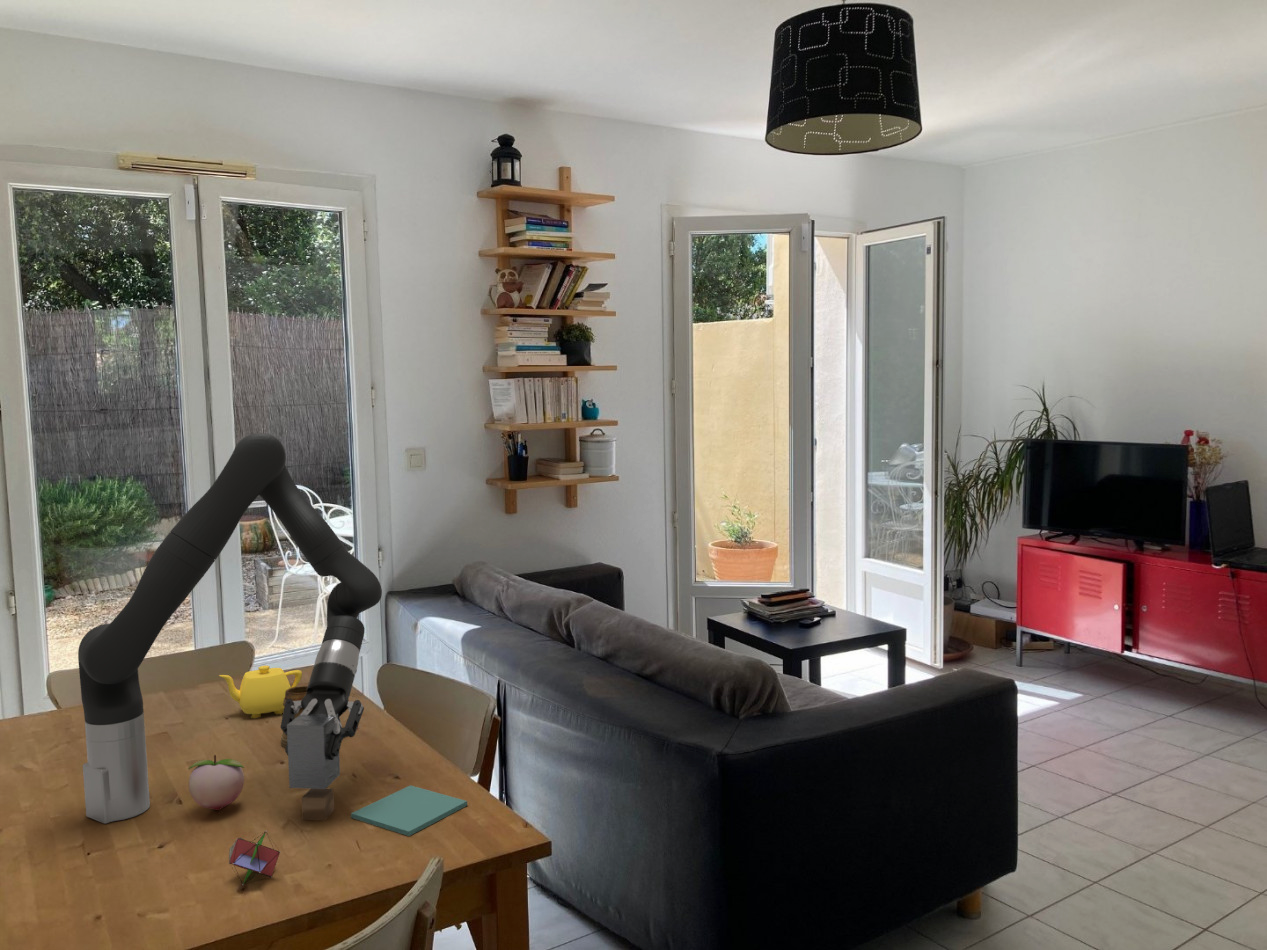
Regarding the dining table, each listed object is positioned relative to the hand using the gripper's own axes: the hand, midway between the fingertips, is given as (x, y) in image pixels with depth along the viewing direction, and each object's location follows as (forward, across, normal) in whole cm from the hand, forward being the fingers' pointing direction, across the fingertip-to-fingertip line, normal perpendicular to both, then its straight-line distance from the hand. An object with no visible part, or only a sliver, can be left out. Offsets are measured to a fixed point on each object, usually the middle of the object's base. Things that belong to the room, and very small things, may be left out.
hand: (310, 757), depth 171 cm
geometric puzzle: (+23, 0, -6) cm, 23 cm away
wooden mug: (-20, -16, +35) cm, 44 cm away
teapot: (-32, -35, +48) cm, 67 cm away
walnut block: (+7, 0, +9) cm, 11 cm away
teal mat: (+5, +16, +10) cm, 20 cm away
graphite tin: (+2, 0, +5) cm, 5 cm away
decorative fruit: (+6, -18, +10) cm, 22 cm away
